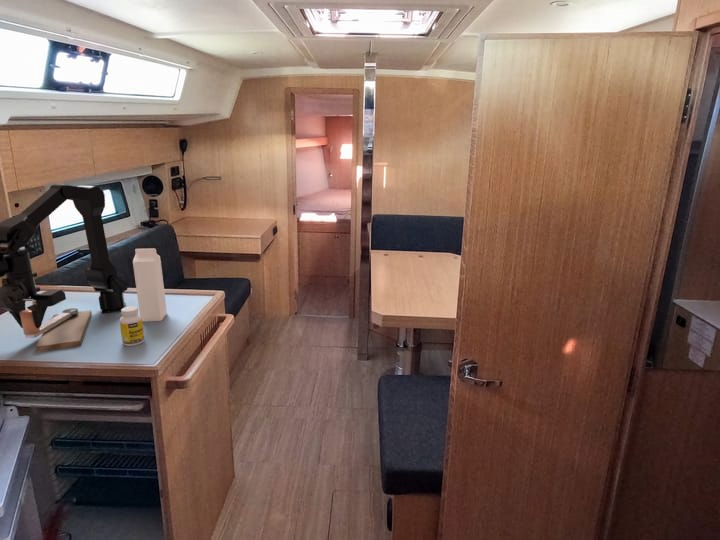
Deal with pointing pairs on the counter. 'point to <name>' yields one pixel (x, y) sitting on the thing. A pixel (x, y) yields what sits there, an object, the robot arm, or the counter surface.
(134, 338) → the supplement bottle
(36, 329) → the lever
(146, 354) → the counter surface
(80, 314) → the light wooden base
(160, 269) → the milk
